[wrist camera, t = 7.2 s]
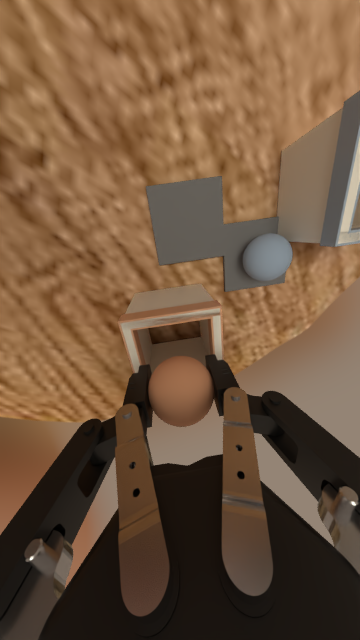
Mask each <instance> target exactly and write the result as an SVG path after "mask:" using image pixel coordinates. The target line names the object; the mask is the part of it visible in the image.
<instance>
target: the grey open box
mask: <svg viewBox="0 0 360 640" xmlns="http://www.w3.org/2000/svg"><path fill="white" fill-rule="evenodd" d="M198 320H199V323H200V334H201V337H196V338H190V339H184V340H177V341H171V342H165V343H158V344H152V342H151V337H150V333H149V329H148V328H152V327H159V326H165V325H172V324H178V323H185V322H191V321H198ZM118 324H119V327H120V331H121V334H122V337H123V341H124V344H125V347H126V351H127V354H128V357H129V361H130V364H131V367H132V371H133V373H138V370H139V366H140V365H146V364H149V365H150V368H151V372H152V373H153V372H154V370H155V369H156V367H157V366H158V365H159V364H161V363H162V362H163V361H165V360H166V359H169V358H171V357H175V356H188V357H191V358H194V359H196V360H198V361H199V362H201V363H202V364H203V365H204V366H205V367H206V360H205V355H211V354H215V355H216V358H217V360H224V348H223V323H222V306H221V304H220V303H219V302H218V301H217V300H213V298H212V297H211V296H210V295H209V293H208V292H207V291H206V289H205V288H204V287H203V286H202V284H201V283H200V284H194V285H187V286H180V287H174V288H167V289H161V290H154V291H147V292H141V293H135V294H134V296H133V299H132V301H131V303H130V305H129V307H128V309H127V311H126V313H125V314H123V315H121V317H120V319H119V321H118Z"/></svg>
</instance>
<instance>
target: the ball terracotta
mask: <svg viewBox="0 0 360 640" xmlns="http://www.w3.org/2000/svg"><path fill="white" fill-rule="evenodd" d="M148 396H149V402H150V404H151V407H152V409H153V411H154V412H155V414H156V415H157V416H158V417H159V418H160V419H161V420H163V421H164V422H166V423H168V424H170V425H173V426H177V427H185V426H190V425H193V424H195V423H197V422H198V421H200V420H201V419H203V418H204V416H205V415H206V414H207V413H208V412H209V409H210V408H211V406H212V403H213V399H214V385H213V380H212V377H211V375H210V373H209V371H208V370H207V368H206V367H205V366H204V365H203V364H202V363H201V362H199V361H198V360H196V359H194V358H191V357H188V356H175V357H171V358H169V359H166V360H165V361H163V362H162V363H161V364H159V365H158V366H157V367H156V369H155V370H154V372H153V373H152V375H151V378H150V381H149V386H148Z"/></svg>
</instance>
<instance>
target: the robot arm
mask: <svg viewBox="0 0 360 640" xmlns="http://www.w3.org/2000/svg"><path fill="white" fill-rule="evenodd" d="M205 360H206V368H207V370H208V371H209V373H210V375H211V377H212V380H213V385H214V400H215V404H216V407H217V410H218V413H219V416H224V422H223V454H222V455H215V456H209V457H205V458H203V459H201V460H199V461H197V462H195V463H193V464H191V465H188V466H185V465H178V464H170V463H167V464H161V465H155V466H154V465H153V461H152V457H151V452H150V448H149V444H148V439H147V436H146V434H147V428H148V427H152V414H153V409H152V407H151V404H150V402H149V396H148V386H149V381H150V378H151V375H152V372H151V368H150V365H149V364H146V365H140V366H139V370H138V373H133V374H132V376H131V377H130V378H129V382H128V386H127V390H126V394H125V399H124V403H123V406H122V407H121V408H120V409H119V410H118V411H117V412H116V415H115V416H114V417H113V418H111V419H109V420H106V421H104V422H102V423H101V421H100V420H99V419H90V420H88V421H86V422H85V423H83V424H82V425H81V426H80V427H79V429H78V430H77V432H76V433H75V434H74V435H73V437H72V438H71V440H70V441H69V442H68V444H67V445H66V446H65V448H64V449H63V450H62V452H61V453H60V455H59V456H58V457H57V459H56V460H55V461H54V463H53V464H52V466H51V467H50V468H49V470H48V471H47V472H46V474H45V475H44V476H43V478H42V479H41V480H40V482H39V483H38V484H37V486H36V487H35V489H34V490H33V491H32V493H31V494H30V495H29V497H28V498H27V500H26V501H25V502H24V504H23V505H22V506H21V508H20V509H19V510H18V512H17V513H16V515H15V516H14V517H13V519H12V520H11V521H10V523H9V524H8V525H7V527H6V528H5V530H4V531H3V532H2V534H1V535H0V640H360V458H359V457H358V456H357V455H355V454H354V453H353V452H352V451H351V450H349V449H348V448H347V447H346V446H344V445H343V444H342V443H341V442H339V441H338V440H337V439H336V438H335V437H333V436H332V435H331V434H330V433H329V432H327V431H326V430H325V429H324V428H323V427H321V426H320V425H319V424H318V423H317V422H315V421H314V420H313V419H312V418H310V417H309V416H308V415H307V414H306V413H304V412H303V411H302V410H301V409H300V408H298V407H297V406H296V405H294V404H293V403H292V402H291V401H290V400H289V399H287V398H286V397H285V396H284V395H282V394H281V393H278V392H275V391H268V392H265V393H264V394H263V395H262V397H259V396H252V395H248V394H246V393H245V391H244V390H242V389H240V387H239V385H238V383H237V381H236V379H235V377H234V375H233V373H232V371H231V369H230V367H229V365H228V363H227V362H225V361H224V360H217V358H216V355H215V354H211V355H205ZM254 433H259V434H262V436H263V437H264V438H265V439H266V440H267V442H268V443H269V444H270V445H271V446H272V447H273V449H274V450H275V451H276V452H277V453H278V455H279V456H280V457H281V458H282V459H283V460H284V462H285V463H286V464H287V465H288V466H289V467H290V469H291V470H292V471H293V472H294V473H295V475H296V476H297V477H298V478H299V479H300V481H301V482H302V483H303V484H304V485H305V486H306V488H307V489H308V490H309V491H310V492H311V494H312V495H313V496H314V497H315V498H316V499H317V501H318V513H319V516H320V518H321V520H322V522H323V524H324V525H325V527H326V528H327V530H328V531H329V533H330V535H331V537H332V540H333V543H334V547H333V546H332V545H331V544H330V543H329V542H328V541H327V540H326V539H324V538H323V537H322V536H321V535H320V534H319V533H318V532H317V531H316V530H315V529H313V528H312V527H311V526H310V525H309V524H308V523H307V522H306V521H305V520H304V519H303V518H301V517H300V516H299V515H298V514H297V513H296V512H295V511H294V510H293V509H291V508H290V507H289V506H288V505H287V504H286V503H285V502H284V501H282V500H281V499H280V498H279V497H278V496H277V495H276V494H275V493H274V492H273V491H272V490H271V489H269V488H268V487H267V486H266V485H265V484H264V483H263V482H262V481H260V476H259V469H258V461H257V454H256V447H255V440H254ZM114 457H115V460H116V474H117V492H118V509H117V511H116V512H115V514H114V515H113V517H112V518H111V520H110V522H109V523H108V524H107V526H106V527H105V529H104V530H103V532H102V534H101V535H100V537H99V538H98V540H97V541H96V543H95V544H94V546H93V547H92V549H91V551H90V552H89V553H88V555H87V556H86V558H85V559H84V561H83V563H82V564H81V566H80V567H79V569H78V570H77V572H76V574H75V575H74V576H73V578H72V579H71V581H70V582H69V584H68V585H67V587H66V589H65V584H66V579H67V577H68V574H69V570H70V567H71V564H72V560H73V549H72V546H71V545H72V543H73V541H74V539H75V537H76V535H77V533H78V531H79V529H80V527H81V525H82V523H83V521H84V519H85V517H86V515H87V512H88V510H89V508H90V506H91V504H92V502H93V500H94V498H95V496H96V494H97V492H98V490H99V488H100V485H101V484H102V481H103V479H104V477H105V475H106V473H107V471H108V469H109V467H110V465H111V463H112V461H113V459H114Z"/></svg>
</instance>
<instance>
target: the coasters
mask: <svg viewBox="0 0 360 640" xmlns="http://www.w3.org/2000/svg"><path fill="white" fill-rule="evenodd" d="M146 191H147V196H148V202H149V208H150V214H151V219H152V225H153V231H154V237H155V243H156V248H157V254H158V260H159V265H166V264H172V263H179V262H186V261H193V260H199V259H206V258H213V257H219V256H223V265H224V291H225V292H227V291H234V290H240V289H247V288H253V287H260V286H267V285H273V284H280V283H284V282H285V273H286V271H285V272H284V273H283V274H282V275H281V276H279V277H278V278H276V279H273V280H269V281H259V280H256V279H253V278H252V277H250V276H249V275H248V274H247V273H246V271H245V269H244V267H243V254H244V251H245V249H246V247H247V246H248V244H249V243H250V242H251V241H252V240H253V239H255V238H256V237H258V236H260V235H263V234H268V233H273V234H278V222H279V217H272V218H265V219H258V220H252V221H245V222H238V223H231V224H224V225H223V199H222V176H218V177H210V178H203V179H196V180H189V181H182V182H175V183H168V184H161V185H153V186H146Z"/></svg>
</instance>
